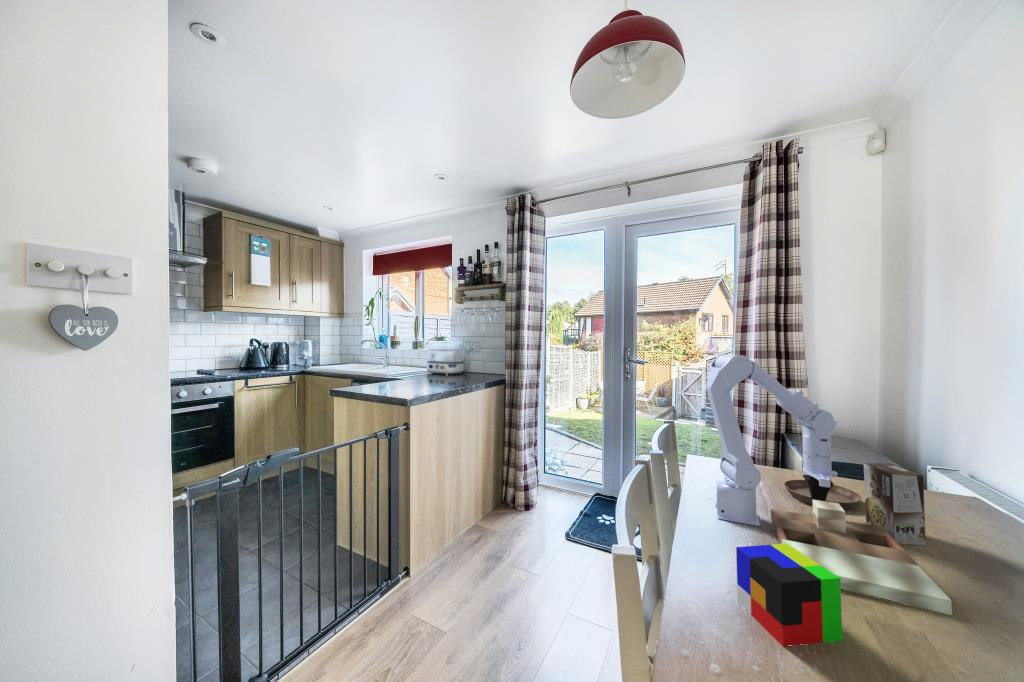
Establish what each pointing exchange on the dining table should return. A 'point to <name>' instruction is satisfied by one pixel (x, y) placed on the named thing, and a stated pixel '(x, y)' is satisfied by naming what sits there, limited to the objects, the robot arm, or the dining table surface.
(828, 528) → the block
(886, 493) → the coffee box
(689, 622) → the dining table surface
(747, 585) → the puzzle toy
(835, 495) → the plant saucer
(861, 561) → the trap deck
